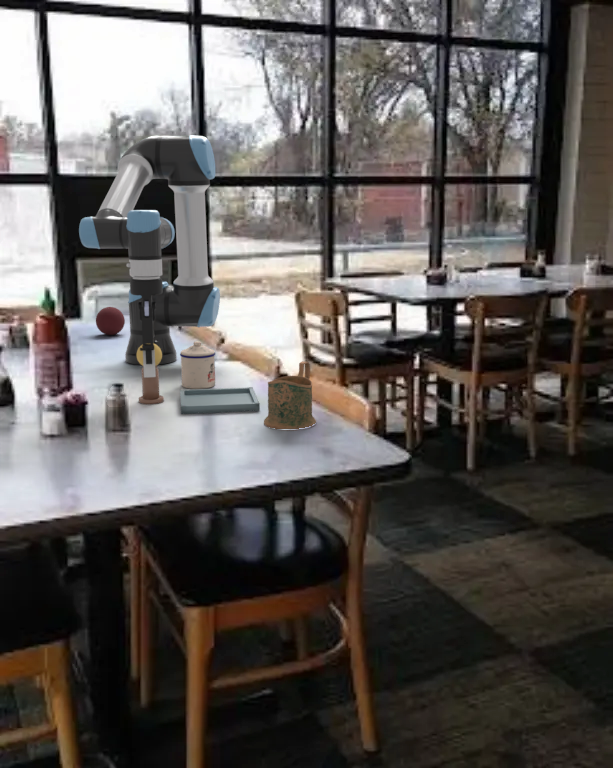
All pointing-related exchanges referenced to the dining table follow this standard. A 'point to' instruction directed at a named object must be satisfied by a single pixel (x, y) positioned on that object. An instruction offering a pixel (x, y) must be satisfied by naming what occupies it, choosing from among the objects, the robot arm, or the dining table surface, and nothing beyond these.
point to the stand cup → (150, 389)
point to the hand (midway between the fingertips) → (150, 373)
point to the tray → (218, 400)
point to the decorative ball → (110, 321)
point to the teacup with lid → (198, 367)
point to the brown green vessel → (290, 401)
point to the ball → (157, 355)
